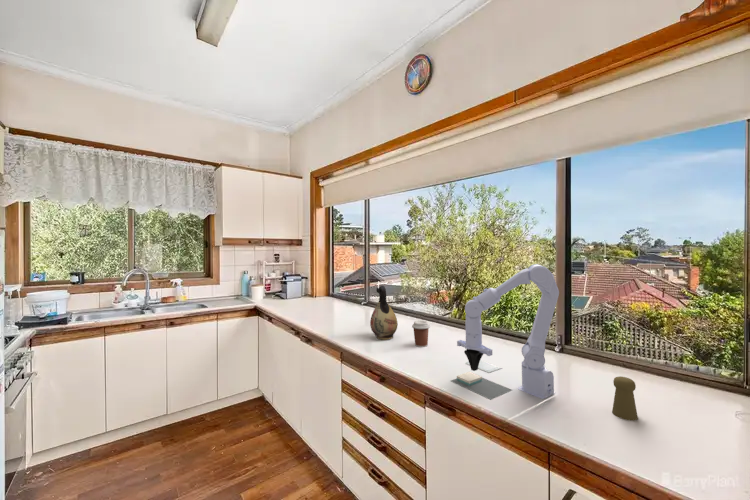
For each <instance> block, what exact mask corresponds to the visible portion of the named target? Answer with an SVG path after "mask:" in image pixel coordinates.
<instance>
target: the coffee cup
mask: <svg viewBox="0 0 750 500" xmlns="http://www.w3.org/2000/svg"><path fill="white" fill-rule="evenodd" d="M411 328H412V329H413V338H414V346H415V347H418V348H426V347H428V346H429V345H428V342H429V329H430V328H431V326H430V324H429V323H428V321H426V320H415V321H414V322H413V324H412V327H411Z"/></svg>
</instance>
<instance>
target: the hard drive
mask: <svg viewBox="0 0 750 500" xmlns="http://www.w3.org/2000/svg"><path fill="white" fill-rule="evenodd" d="M465 365H468V366H470V364H469V361H467V362H465ZM501 369H503V367H501V366H498V365H495V364H492V363H489V362H487V361H485V360H482V359H480V362H479V366H478V370H480V371H483V372H486V373H488V374H490V373H493V372H496V371H500V370H501Z"/></svg>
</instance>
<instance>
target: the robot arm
mask: <svg viewBox="0 0 750 500" xmlns="http://www.w3.org/2000/svg"><path fill="white" fill-rule="evenodd" d="M531 282H532V283H534V284H535V285H536V287H537V288H538V289H539V292H541V297H540V300H539V304H538V306H537V310H536V313H535V317H534V320H533V324H532V328H531V332H530V335H529V337H528V338H527V340H526V343H525V344H523V346H522V347H521V355H522V356H523V361H521V386H518V387H516V389H517V390H519V391H521V392H524V393H525V394H529V395H532V396H534V397H537V398H539V399H542V400H543V399H546V398H548V397H550V396H552V395H553V394H556V392H555V386H554V385H555V381H554V377H555V376H554V373H553V371H552V370H549V369H547V367H546V366H545V363H546V359H545V352H546V341H547V337H548V335H549V330H550V327H551V323H552V321H553V317H554V314H555V309H556V307H557V302H558V299H559V295H560V290H559V288H558V284H557V282H556V279H555V276H554V274H553V273H552V272H551V270H549V268H547V267H546V266H543V265H541V264H538V263H534V264H531V265H530V266H528V267H525V268H524V269H521V270H520V271H518V272H517V273H515V274H514V275H513V276H510V278H508V279H507V280H505V281H503V283H501V284H500V285H498V286H497V287H495V288H494V287H489V288H484V289H483V292H481V293H480V294H478V295H477V296H473V297H472V299H470V300H468V301H467V302H466V304H465V307H464V312H465V320H464V321H465V324H464V325H465V340H462V339H459V340H457V341H456V343H457V344H456V346H457V347H463V348H465V350H464V355H465V356H466V358H467V360H468V361H467V362H469V364H470V365H469V366H470V371H473V372H475V371H478V370H479V369H478V366H479V362H480V360H482V357H483V356H484V355H486V356H487V357H490V356H493V349H491V348H490V347H487V346H485V345H484V344H483V333H482V332H483V330H482V329H483V327H482V326H483V325H482V323H483V322H482V319H481V317H482V316H481V315H482V313H483V311H486V310H488V309H490V308H492V307H493V306H495V305H496V304H498V303H499V302H501V297H502V296H503V295H505V294H506V293H507V294H508V292H510V291H512V290H513V289H515V288H517V287H519V286H520V285H531Z"/></svg>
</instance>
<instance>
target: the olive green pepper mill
mask: <svg viewBox="0 0 750 500" xmlns="http://www.w3.org/2000/svg"><path fill="white" fill-rule="evenodd" d="M612 381H613V382H612V383H613V386H614V388H615V392H614V396H613V397H614V398H613V404H612V411H611V412H612V415H614V416H615V417H617V418H619V419H622V420H625V421H631V422H632V421H634V422H635V421H637V420H638V419H639V417H638V413H637V412H638V411H637V406H636V401H635V400H636V399H635V395H634V391H636V388H637V387H636V382H635V381H634V380H633V379H632V378H630V377H628V376H627V377H626V376H615V377H614V378H613V380H612Z"/></svg>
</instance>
